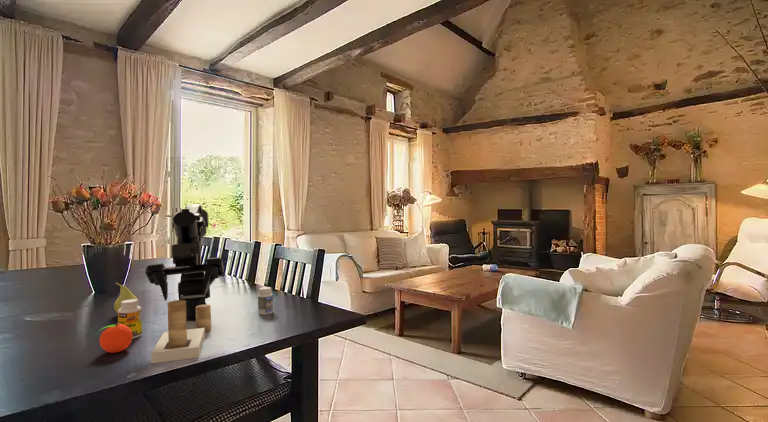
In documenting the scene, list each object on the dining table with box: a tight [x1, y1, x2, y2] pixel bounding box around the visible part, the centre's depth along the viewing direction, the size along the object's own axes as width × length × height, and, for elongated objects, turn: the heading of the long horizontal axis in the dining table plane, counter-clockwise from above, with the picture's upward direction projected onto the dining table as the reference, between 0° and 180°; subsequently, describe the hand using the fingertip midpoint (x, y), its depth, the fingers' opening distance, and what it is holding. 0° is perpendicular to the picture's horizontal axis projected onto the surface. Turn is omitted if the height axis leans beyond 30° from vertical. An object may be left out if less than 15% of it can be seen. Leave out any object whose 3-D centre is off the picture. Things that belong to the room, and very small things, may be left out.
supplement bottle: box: [117, 298, 143, 340], centre depth 112 cm, size 6×6×10 cm
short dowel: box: [195, 304, 212, 333], centre depth 117 cm, size 4×4×7 cm
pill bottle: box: [257, 286, 274, 315], centre depth 134 cm, size 5×5×8 cm
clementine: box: [94, 323, 133, 354], centre depth 100 cm, size 8×7×7 cm
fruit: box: [113, 281, 139, 314], centre depth 134 cm, size 7×8×12 cm
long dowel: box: [167, 299, 187, 349], centre depth 98 cm, size 4×4×13 cm
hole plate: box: [150, 327, 206, 364], centre depth 102 cm, size 16×10×2 cm, turn 19°
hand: (185, 297), depth 105 cm, fingers open, 9 cm apart
